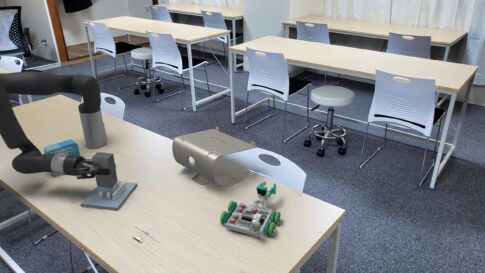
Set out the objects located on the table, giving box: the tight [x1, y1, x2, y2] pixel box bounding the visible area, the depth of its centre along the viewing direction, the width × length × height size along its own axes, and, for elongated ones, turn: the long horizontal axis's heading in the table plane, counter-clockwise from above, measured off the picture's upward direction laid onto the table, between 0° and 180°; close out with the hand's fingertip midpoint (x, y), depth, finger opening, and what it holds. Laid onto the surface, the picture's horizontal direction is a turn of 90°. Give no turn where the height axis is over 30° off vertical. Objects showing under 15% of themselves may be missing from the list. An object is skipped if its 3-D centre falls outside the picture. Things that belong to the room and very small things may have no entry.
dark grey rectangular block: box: [91, 151, 119, 188], centre depth 133 cm, size 4×6×12 cm, turn 80°
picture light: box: [132, 224, 162, 244], centre depth 118 cm, size 14×4×2 cm, turn 52°
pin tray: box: [80, 180, 138, 212], centre depth 137 cm, size 16×14×4 cm
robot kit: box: [219, 181, 282, 238], centre depth 126 cm, size 19×25×9 cm
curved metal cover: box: [171, 126, 257, 187], centre depth 150 cm, size 26×24×16 cm
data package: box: [43, 139, 81, 177], centre depth 152 cm, size 12×4×12 cm, turn 132°
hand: (112, 169), depth 133 cm, fingers closed on dark grey rectangular block, 4 cm apart
